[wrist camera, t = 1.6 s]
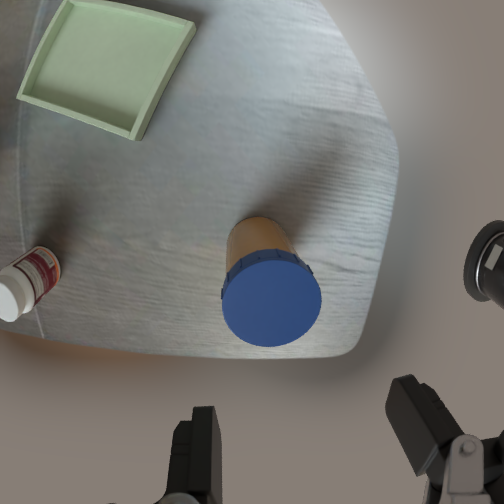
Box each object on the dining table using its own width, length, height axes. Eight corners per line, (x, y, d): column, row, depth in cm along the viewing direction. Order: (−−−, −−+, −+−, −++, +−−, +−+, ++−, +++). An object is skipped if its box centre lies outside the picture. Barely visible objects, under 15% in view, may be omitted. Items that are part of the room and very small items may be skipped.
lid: (314, 244, 19) (323, 254, 17) (313, 325, 21) (320, 341, 19) (217, 252, 19) (215, 264, 17) (227, 334, 21) (227, 351, 19)
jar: (286, 214, 28) (317, 255, 18) (288, 272, 30) (315, 335, 20) (223, 219, 27) (220, 263, 18) (229, 277, 29) (230, 344, 19)
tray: (196, 30, 22) (194, 22, 20) (140, 140, 25) (133, 140, 23) (75, 2, 19) (66, -5, 17) (27, 99, 22) (15, 98, 20)
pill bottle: (35, 287, 28) (-5, 325, 20) (23, 247, 27) (-23, 278, 19) (67, 285, 29) (28, 326, 21) (55, 243, 27) (10, 275, 19)
